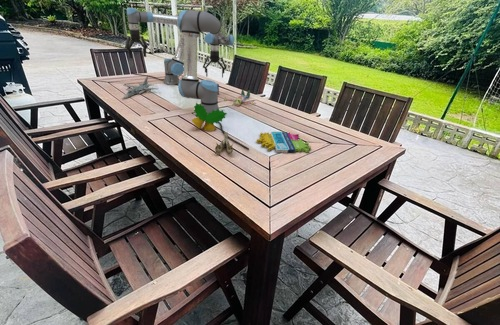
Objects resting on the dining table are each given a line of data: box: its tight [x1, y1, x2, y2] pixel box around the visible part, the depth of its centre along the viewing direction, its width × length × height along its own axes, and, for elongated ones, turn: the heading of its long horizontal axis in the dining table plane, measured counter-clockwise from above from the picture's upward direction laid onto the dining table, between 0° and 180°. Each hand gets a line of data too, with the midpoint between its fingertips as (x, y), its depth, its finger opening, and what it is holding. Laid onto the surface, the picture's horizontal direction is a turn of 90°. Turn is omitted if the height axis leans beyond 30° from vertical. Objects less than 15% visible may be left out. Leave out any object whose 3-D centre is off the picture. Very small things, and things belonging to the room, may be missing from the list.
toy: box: [223, 89, 257, 106], centre depth 219 cm, size 28×7×30 cm
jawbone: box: [214, 131, 234, 156], centre depth 136 cm, size 9×15×10 cm
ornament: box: [191, 102, 228, 132], centre depth 162 cm, size 21×8×15 cm, turn 105°
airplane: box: [121, 75, 158, 100], centre depth 222 cm, size 38×32×10 cm
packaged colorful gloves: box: [256, 131, 312, 154], centre depth 152 cm, size 26×2×30 cm
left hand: (138, 57), depth 224 cm, fingers open, 13 cm apart
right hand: (214, 76), depth 228 cm, fingers open, 13 cm apart
